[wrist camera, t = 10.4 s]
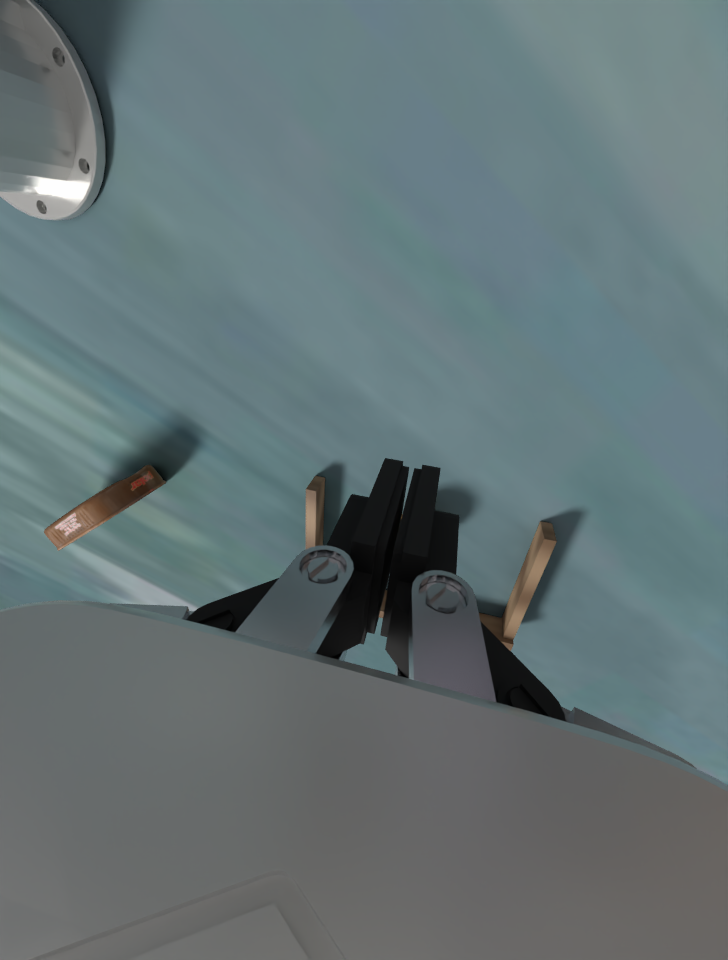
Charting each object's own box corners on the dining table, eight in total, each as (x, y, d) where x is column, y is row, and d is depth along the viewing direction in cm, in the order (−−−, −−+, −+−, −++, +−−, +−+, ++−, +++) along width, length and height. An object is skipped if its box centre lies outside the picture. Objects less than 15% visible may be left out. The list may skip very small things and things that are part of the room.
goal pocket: (315, 475, 39) (303, 492, 36) (552, 523, 35) (557, 545, 32) (313, 578, 46) (303, 597, 43) (508, 626, 42) (510, 650, 40)
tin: (109, 518, 50) (48, 563, 43) (90, 498, 49) (24, 542, 42) (182, 473, 43) (123, 518, 36) (161, 449, 42) (97, 491, 35)
